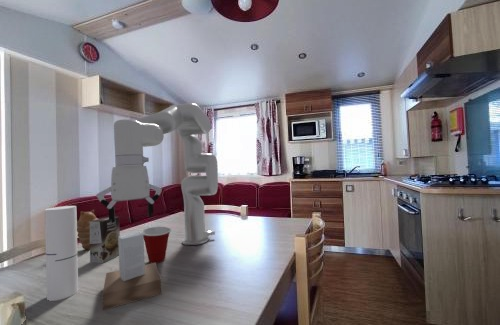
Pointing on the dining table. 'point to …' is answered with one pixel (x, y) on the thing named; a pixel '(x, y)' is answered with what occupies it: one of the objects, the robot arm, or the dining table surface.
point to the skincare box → (131, 255)
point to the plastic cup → (156, 243)
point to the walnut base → (131, 287)
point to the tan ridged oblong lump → (85, 228)
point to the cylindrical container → (61, 252)
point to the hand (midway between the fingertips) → (132, 219)
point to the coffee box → (104, 239)
